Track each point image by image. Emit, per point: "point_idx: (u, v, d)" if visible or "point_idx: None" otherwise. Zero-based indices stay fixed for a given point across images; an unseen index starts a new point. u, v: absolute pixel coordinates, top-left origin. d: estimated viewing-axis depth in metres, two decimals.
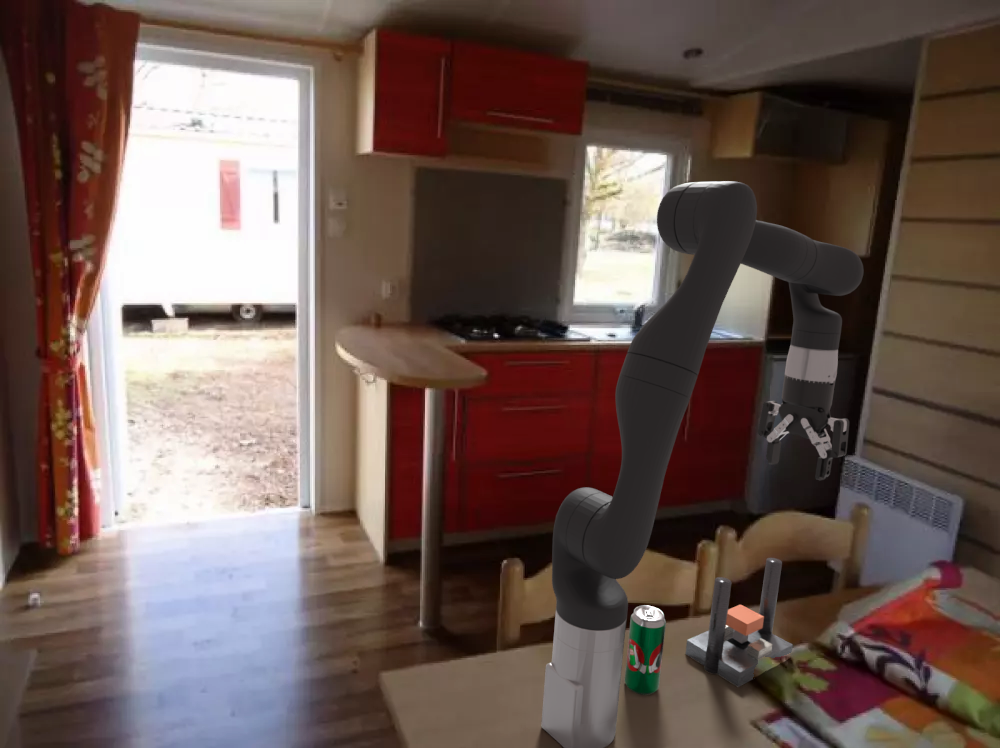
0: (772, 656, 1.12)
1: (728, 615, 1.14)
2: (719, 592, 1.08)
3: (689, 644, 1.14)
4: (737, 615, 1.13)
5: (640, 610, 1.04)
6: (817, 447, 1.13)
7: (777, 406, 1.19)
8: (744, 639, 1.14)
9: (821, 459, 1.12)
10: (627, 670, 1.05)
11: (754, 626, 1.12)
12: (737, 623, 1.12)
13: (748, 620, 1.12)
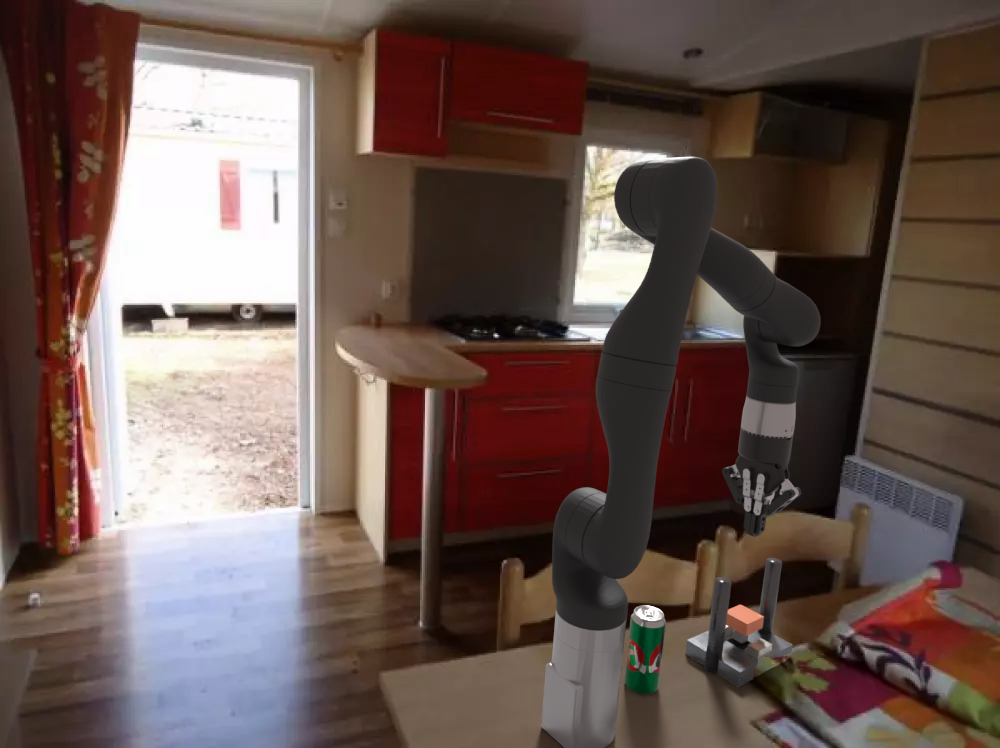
0: (772, 656, 1.12)
1: (728, 615, 1.14)
2: (719, 592, 1.08)
3: (689, 644, 1.14)
4: (737, 615, 1.13)
5: (640, 610, 1.04)
6: (756, 502, 1.09)
7: (734, 465, 1.13)
8: (744, 639, 1.14)
9: (755, 515, 1.10)
10: (627, 670, 1.05)
11: (754, 626, 1.12)
12: (737, 623, 1.12)
13: (748, 620, 1.12)
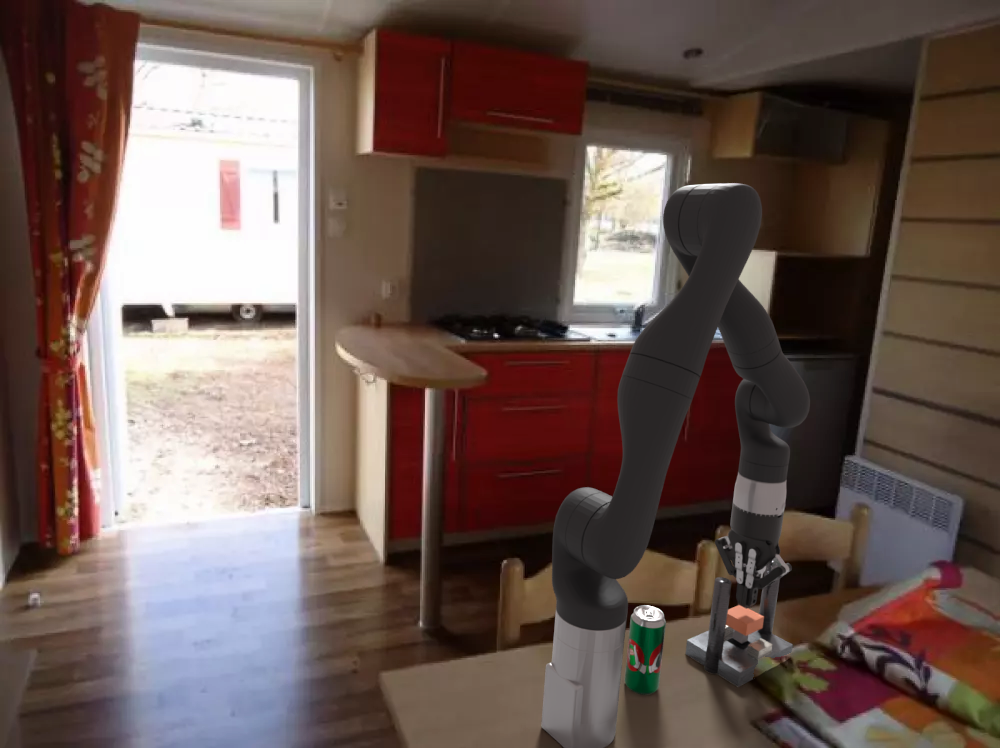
0: (772, 656, 1.12)
1: (728, 615, 1.14)
2: (719, 592, 1.08)
3: (689, 644, 1.14)
4: (737, 615, 1.13)
5: (640, 610, 1.04)
6: (748, 575, 1.11)
7: (727, 537, 1.15)
8: (744, 639, 1.14)
9: (747, 588, 1.12)
10: (627, 670, 1.05)
11: (754, 626, 1.12)
12: (737, 623, 1.12)
13: (748, 620, 1.12)
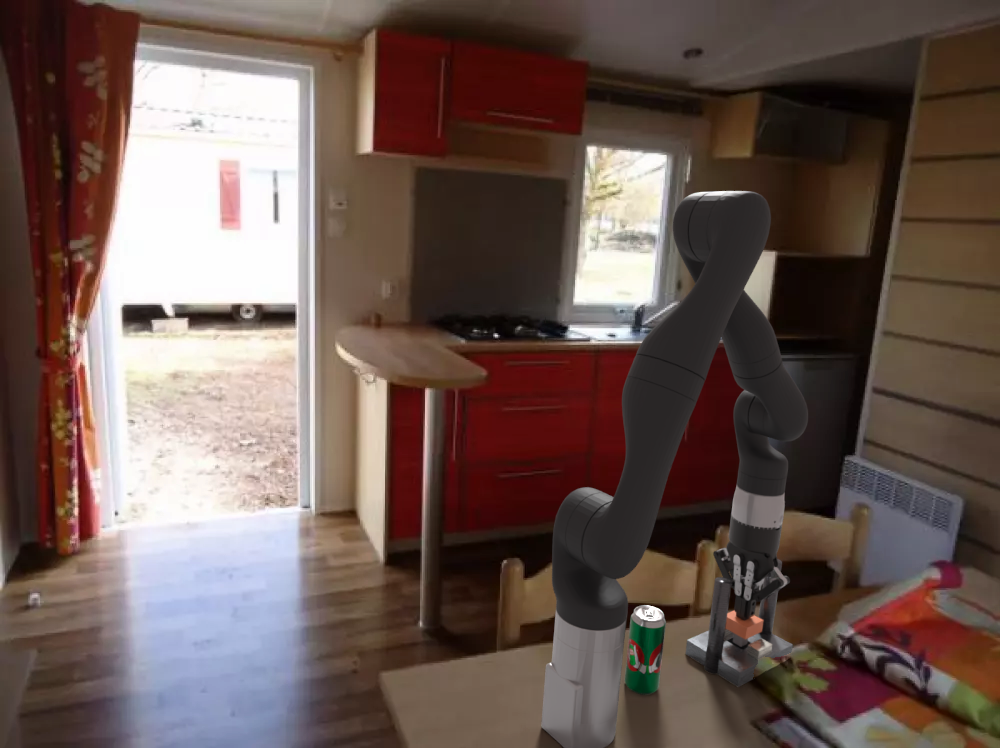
0: (772, 656, 1.12)
1: (728, 619, 1.14)
2: (719, 592, 1.08)
3: (689, 644, 1.14)
4: (737, 619, 1.13)
5: (640, 610, 1.04)
6: (746, 587, 1.12)
7: (725, 549, 1.15)
8: (744, 642, 1.14)
9: (745, 600, 1.12)
10: (627, 670, 1.05)
11: (753, 629, 1.12)
12: (737, 627, 1.12)
13: (748, 623, 1.12)
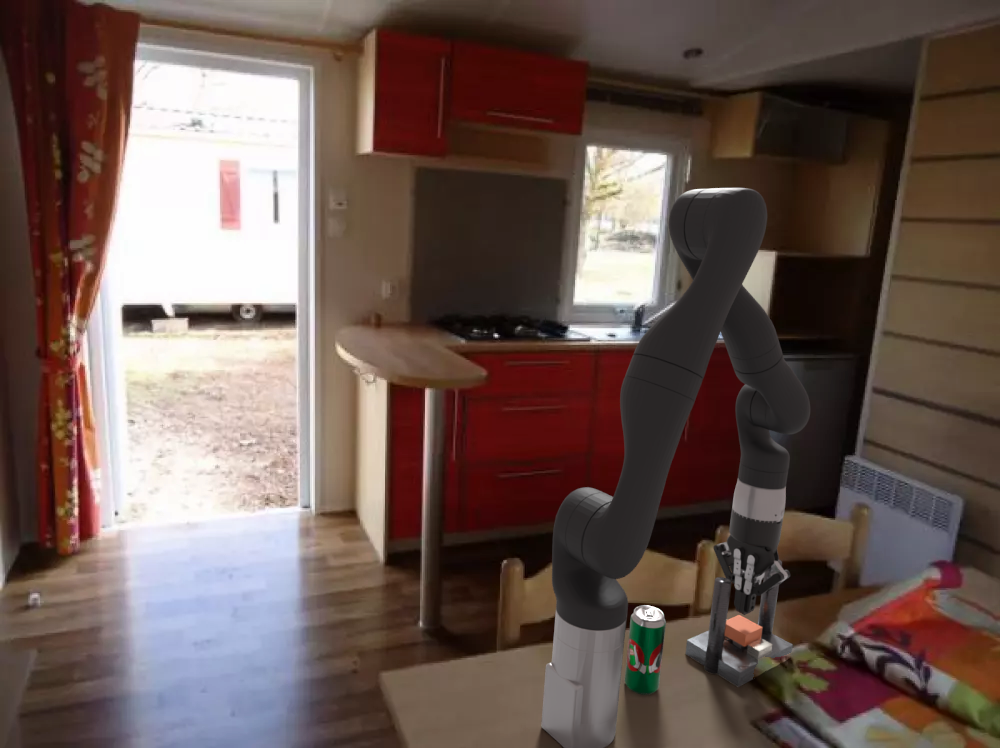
0: (772, 656, 1.12)
1: (727, 626, 1.14)
2: (719, 592, 1.08)
3: (689, 644, 1.14)
4: (736, 626, 1.14)
5: (640, 610, 1.04)
6: (746, 581, 1.11)
7: (726, 543, 1.15)
8: None
9: (745, 594, 1.12)
10: (627, 670, 1.05)
11: (752, 637, 1.13)
12: (736, 634, 1.13)
13: (747, 630, 1.12)
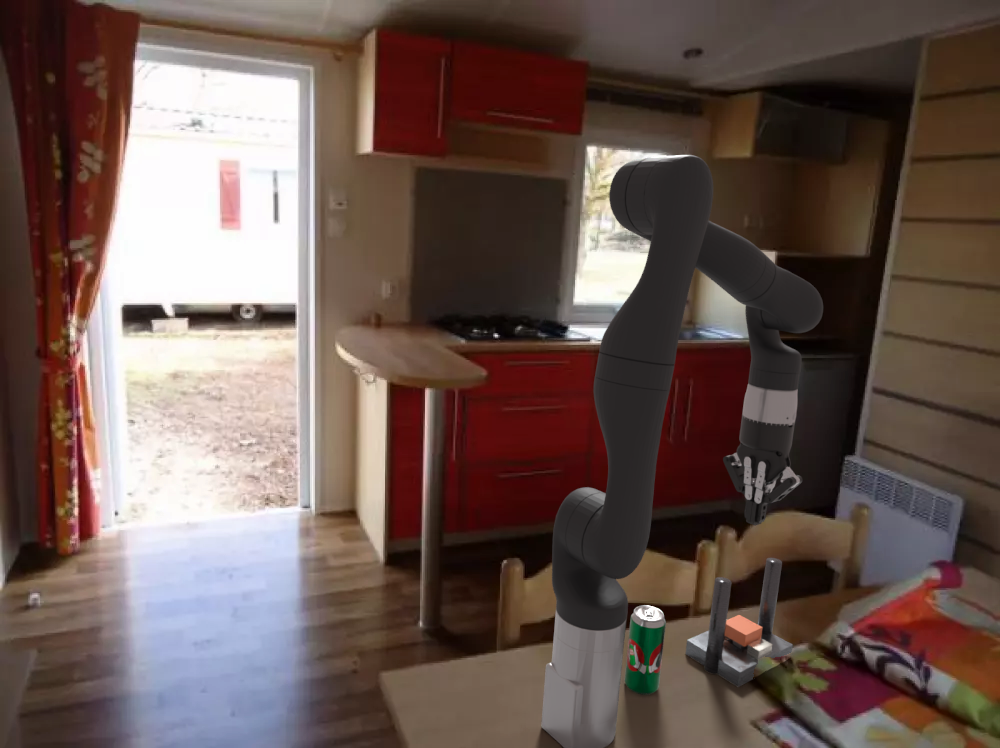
0: (772, 656, 1.12)
1: (727, 626, 1.14)
2: (719, 592, 1.08)
3: (689, 644, 1.14)
4: (736, 626, 1.14)
5: (640, 610, 1.04)
6: (757, 490, 1.09)
7: (735, 454, 1.12)
8: None
9: (756, 504, 1.09)
10: (627, 670, 1.05)
11: (752, 637, 1.13)
12: (736, 634, 1.13)
13: (747, 630, 1.12)
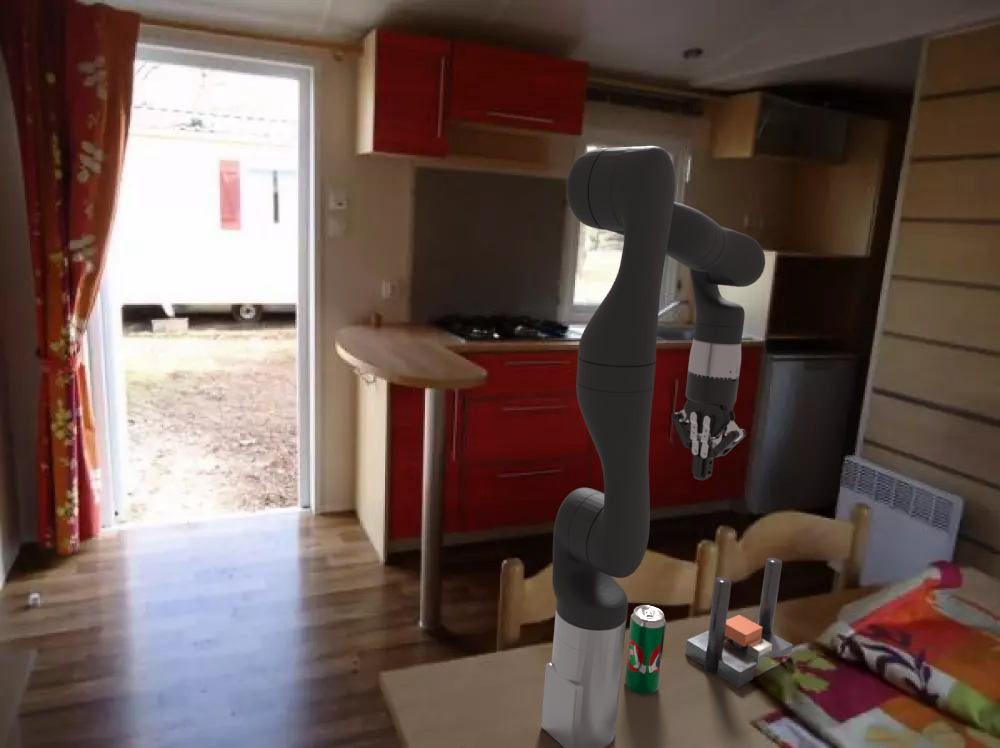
0: (772, 656, 1.12)
1: (727, 626, 1.14)
2: (719, 592, 1.08)
3: (689, 644, 1.14)
4: (736, 626, 1.14)
5: (640, 610, 1.04)
6: (703, 445, 1.10)
7: (683, 410, 1.13)
8: None
9: (702, 459, 1.10)
10: (627, 670, 1.05)
11: (752, 637, 1.13)
12: (736, 634, 1.13)
13: (747, 630, 1.12)
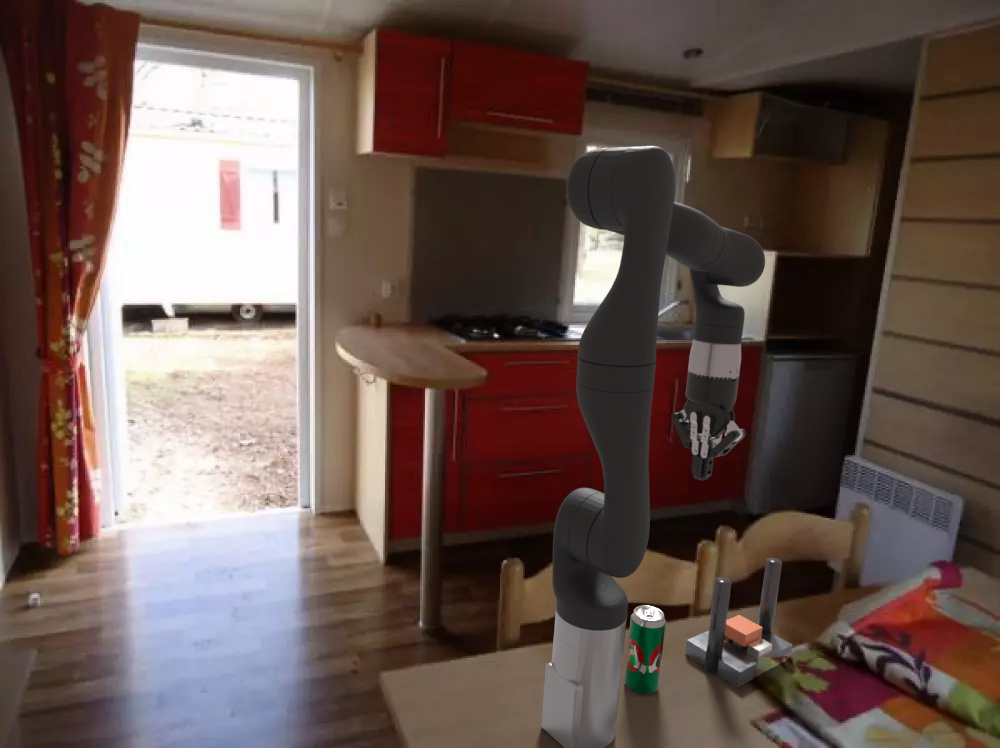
0: (772, 656, 1.12)
1: (727, 626, 1.14)
2: (719, 592, 1.08)
3: (689, 644, 1.14)
4: (736, 626, 1.14)
5: (640, 610, 1.04)
6: (703, 445, 1.10)
7: (683, 410, 1.13)
8: None
9: (702, 459, 1.10)
10: (627, 670, 1.05)
11: (752, 637, 1.13)
12: (736, 634, 1.13)
13: (747, 630, 1.12)
